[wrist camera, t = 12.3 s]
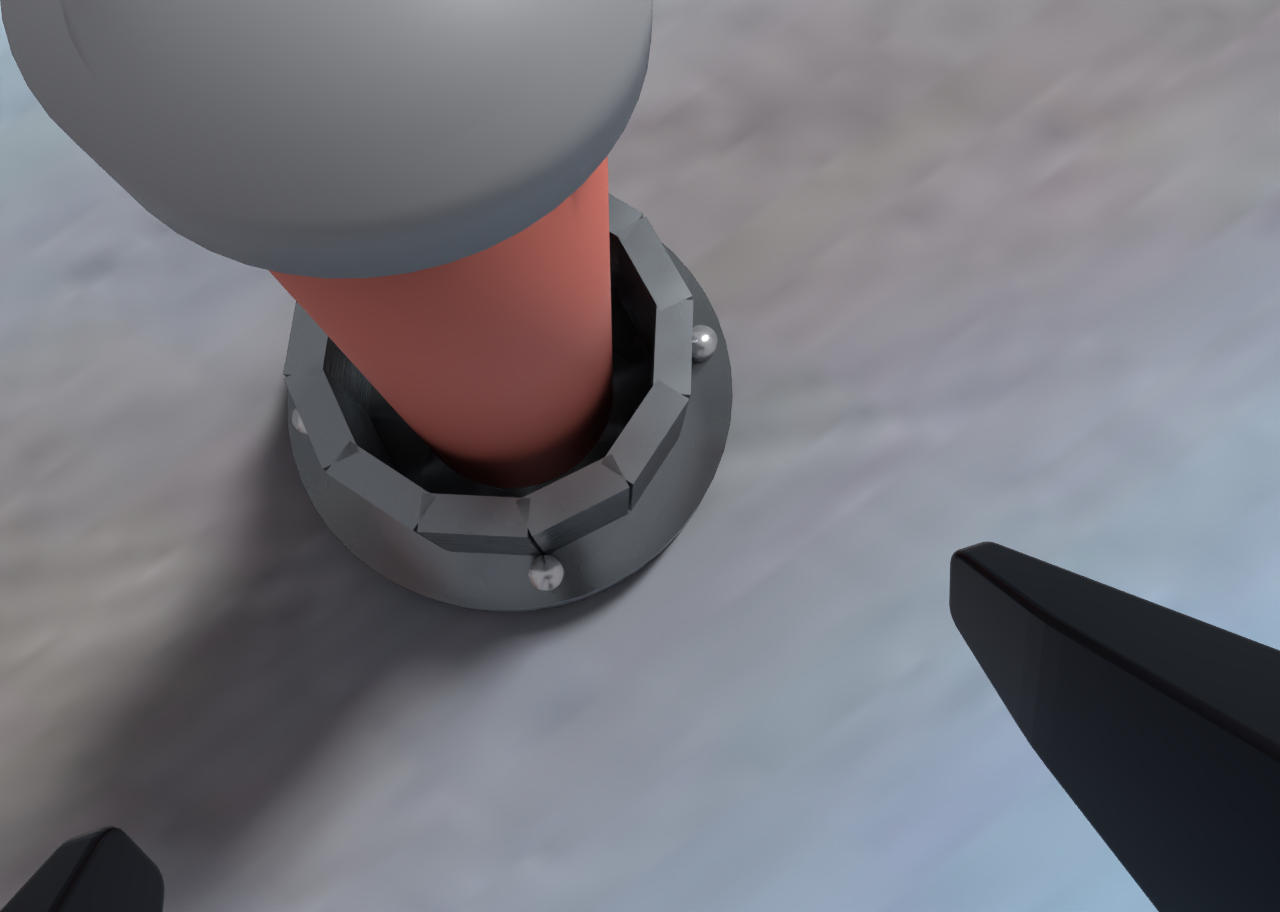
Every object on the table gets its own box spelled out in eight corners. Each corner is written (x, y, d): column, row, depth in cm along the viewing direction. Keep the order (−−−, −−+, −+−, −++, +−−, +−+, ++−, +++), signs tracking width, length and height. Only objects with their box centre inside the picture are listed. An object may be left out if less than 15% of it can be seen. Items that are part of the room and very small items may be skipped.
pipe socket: (574, 702, 18) (562, 714, 14) (213, 457, 20) (112, 408, 16) (803, 340, 21) (844, 269, 17) (469, 145, 22) (437, 37, 18)
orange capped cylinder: (545, 555, 18) (397, 350, 6) (345, 425, 19) (-148, 6, 7) (677, 358, 19) (770, -130, 7) (486, 244, 20) (288, -372, 8)
